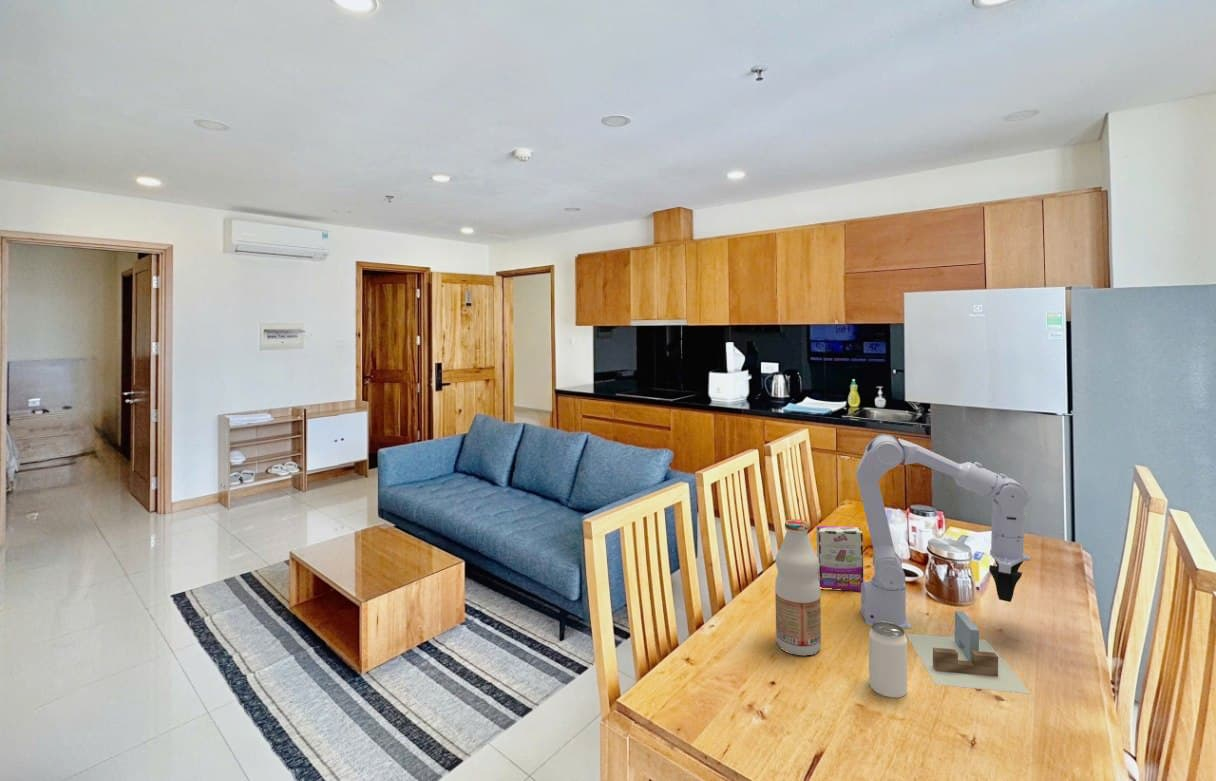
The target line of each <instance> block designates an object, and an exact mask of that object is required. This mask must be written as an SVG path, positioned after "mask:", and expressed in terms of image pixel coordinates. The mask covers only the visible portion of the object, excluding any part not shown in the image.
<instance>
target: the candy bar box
mask: <svg viewBox="0 0 1216 781" xmlns="http://www.w3.org/2000/svg"><path fill="white" fill-rule="evenodd" d="M863 535H864V534H863V531H862V530H861V528H860V527H859V526H838V525H837V526H836V525H834V526H831V525H829V526H828V525H827V526H826V525H825V526H824V525H817V526H816V555H817V556H818V559H819V571H818V574H817V578H818V580H819V583H820V587H822V588H832V589H841V590H853V591H852V592H860V591H861V583H862V582H864V545H863V544H864V543H863V542H864V540H863V539H864V538H863Z"/></svg>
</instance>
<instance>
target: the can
mask: <svg viewBox="0 0 1216 781" xmlns="http://www.w3.org/2000/svg"><path fill="white" fill-rule="evenodd" d="M870 627H871V629H870V630H869V632H868V633H869V634H868V674H869V676H868V680H869V681H868V682H869V686H870V688H871V689H872V690H873V691H874V692H875V693H877V694H879V695H881V696H884V697H888V698H892V699H895V698H902V697H904V696H906V695H907V692H908V639H907V636H906V633H905V630H904V628H901V627H900V626H898V625H896V624H893V623H890V622H875V623H873V624H872V626H870Z"/></svg>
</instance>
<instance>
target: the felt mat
mask: <svg viewBox="0 0 1216 781" xmlns="http://www.w3.org/2000/svg"><path fill="white" fill-rule="evenodd" d="M905 636H906V638H908V640H909V642H910V643H911V645H912V647H913V649H914V650H915V652H916V653H917V656H918V658H919V660H920V661H921V662H922V664H923V666H924V668H925V670H926V671H927V673H928V674H929V676H930V677H931V680H932V681H933V684H934V685H936V686H943V687H944V686H945V687H946V686H947V687H956V688H957V687H958V688H967V689H976V690H987V691H996V692H997V691H998V692H1007V693H1017V694H1019V693H1020V694H1030V695H1032V693H1031V691H1030V690H1029V689H1028V688H1027V687H1026V685H1024V683H1023V682H1022V680H1020V678H1019V677H1018V676H1017V674H1015V673H1014V671H1013V670H1012V669H1011V667H1009V665H1008V664H1007V663H1006V662H1005V661H1004V659H1003V658H1002V657H1001V656H1000V654H999V653H998V652H997V651H996V649H994V648H993V646H992V645H991V644H990V642H988V640H987V639H984V638H983V639H980V638H979V651H982V652H994V653H995V654H996V655H997V656H998V677H996V676H985V675H974V674H963V673H952V672H941V671H935V669H934V668H933V648H945V649H955V650H956V652H957V653H958V660H963V661H968V659H967V658H966V657H965V648H959V647H958V646H957V644H956V643H955V636H942V635H929V634H917V633H915V634H914V633H905Z"/></svg>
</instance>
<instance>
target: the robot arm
mask: <svg viewBox="0 0 1216 781" xmlns="http://www.w3.org/2000/svg"><path fill="white" fill-rule="evenodd" d="M901 463H903V465H904V466H907V465H911V464H912V465H913V464H920V465H922V466H925V467H928V468H930V469H932V470H935V471H937V472H940V473H943V474H945V475H947V476H950V477H953V479H954V482H955V484H956V485H957V486H959V487H962V488H964V489H966V490H968V491H970V492H972V493H975V494H977V495H979V496H982V497H984V498H985V499H986V498H987V499H992V510H991V511H992V512H991V535H990V536H991V537H990V538H991V540H990V541H991V546H990V550H989V555H990V556H991V557H992V558H993V559H994V562H995V564H996V565H992V564H990V565H989V567H988V571H989V572H990V575H991V576H992V578H993V581H994V583H995V588H996V593H997V597H998V600H1000V601H1005V602H1009V603H1011V602H1012V599H1013V597H1014V593H1015V592H1014V591H1015V590H1016V585H1017V584H1018V581H1019V580H1020V578H1021V577H1022V576H1023V572H1021V571H1019V569H1020V567H1021V566H1022V564H1023V563H1024V561H1025V562H1030V561H1031V556H1030V555H1028V554H1024V548H1025V547H1024V543H1025V507H1026V506H1027V505H1028V504H1029V502H1030V496H1029V495H1028V492H1027V490H1026V489H1025V487H1024V486H1023V485H1021V484H1020V483H1019V482H1018V481H1017V480H1016V479H1013V478H1011V477H1010V476H1007V475H1006V474H1004V473H1001V472H999V473H996V472H993V471H992V470H989V469H986V468H984V467H983V465H982V463H979V462H978V461H975V462H974V463H972V462H970V461H966V462H962V463H958V462H956V461H954V460H951V459H949V458H947V457H944V456H943V455H941V454H938V453H936V452H934V451H932V450H929V449H927V448H926V447H923V446H921V445H919V444H917V443H916V444H915V443H914V442H911V441H908V440H905V439H902V438H896V437H894V436H892V435H891V434H880V435H877V436H876V437H874V438H873V439H872V440H871V441H870V442H869V443H867V445H866V448H865V450H864V453H863V454H862V458H861V459H860V462H859V463H858V466H857V468H856V471H855V474H856V480H857V485H858V488H859V493H860V497H861V501H862V506H863V508H864V514H865V518H866V522H867V523H866V524H867V527H868V531H869V536H870V539H871V540H870V541H871V544H872V550H873V554H874V555H873V558H872V565H873V567H874V568H873V569H874V575H873V577H872V578H871V580H870V581H863V582H862V583H861V592H860V613H861V615H862V617H863V619H864V621H865V624H866V625H867V626H868V627H871V626H872V624H873V623H875V622H890V623H893V624H896V625H898V626H900V627H901V628H903V629H912V625H911V624H910V622H909V620H908V619H907V617H906V614H907V613H906V612H907V610H906V609H907V608H906V605H907V604H906V603H907V602H906V601H907V600H906V599H907V597H906V596H907V595H906V593H907V592H906V589H907V586H906V585H907V584H906V573H905V572H904V569H903V566H902V565H903V563H902V559H901V558H900V556H899V555H898V554H897V552H896V550H895V546H894V543H893V538H892V534H891V529H890V526H889V522H888V521H889V520H888V516H887V512H886V508H885V503H884V500H883V496H882V495H883V494H882V492H881V491H882V490H881V486H880V482H879V480H880V479H881V478H882V477H883V476H884V475H885V474H886V473H887V472H888V471H891V470H892V469H895V468H896V467H897V466H899V465H900V464H901Z"/></svg>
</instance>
